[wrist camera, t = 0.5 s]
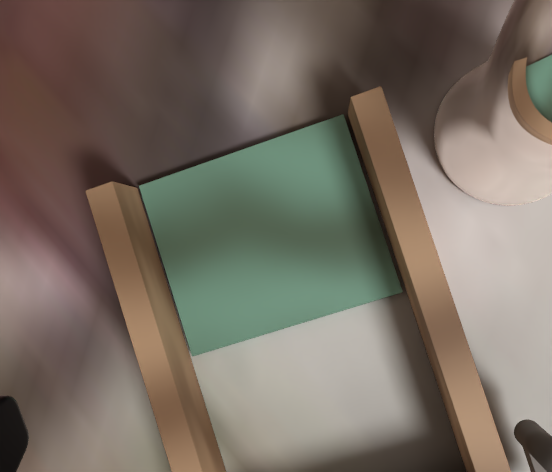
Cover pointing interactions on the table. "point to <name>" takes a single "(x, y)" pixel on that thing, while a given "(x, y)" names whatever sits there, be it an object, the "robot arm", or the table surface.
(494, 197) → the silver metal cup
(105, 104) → the table surface
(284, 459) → the table surface
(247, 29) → the table surface
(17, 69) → the table surface
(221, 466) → the wooden roller tray
